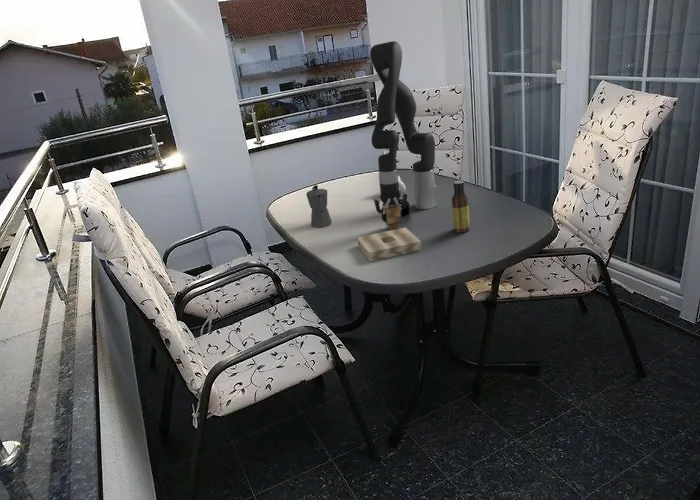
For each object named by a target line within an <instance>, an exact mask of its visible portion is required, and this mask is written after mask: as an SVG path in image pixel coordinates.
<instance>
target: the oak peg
mask: <svg viewBox="0 0 700 500" xmlns="http://www.w3.org/2000/svg"><path fill="white" fill-rule="evenodd" d="M386 219H387V222H384V223H385V224H386V225H387V229H388V231H391V230H396V229H399V226H400V225H399V224H401V223H402V218H401V214H400V207H397V206H396V205H390V206H388V208H387V209H386Z"/></svg>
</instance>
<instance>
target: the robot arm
mask: <svg viewBox="0 0 700 500" xmlns="http://www.w3.org/2000/svg"><path fill="white" fill-rule="evenodd" d="M369 51H370V53H369V56H370V61H371V64H372V66H373V68H374V70H375V72H376V74H377V76H378V77H379V79H380V82H381V83H382V85H383V87H382V89H381V91H380V93H379V95H378V99H377V101H376V102H377V103H376V120H375V125H374V129H373V132H372V135H371V144H372V147H373V148H374V150H375V149H376V150H388V153H384V154H381V155H379V156H378V158H377V163H378V180H379V190H380V191H379V192H380V196H379V197H378V198H373V203H374V206H375V211H376V212H377V213H378V214H381V220H382V221H383V222H384V223H385V222H387V219H386V209H387V208H388V206H390V205H396V206H397V207H400V214H401V219H402V218H403V210H404V209H406V208H407V200H408V195H407V193H406V192H405V193H403V194H400V193H399V183H398V176H399V173H398V167H397V152H398V147H399V144H400V143H399V142H400V136H399V134H398V132H397V131H396V130H395V129H394V130H393V129H388V130H384V128H385V127H386V126H389V125H392V124H394V123H395V120H396V118H397V121H398V123H399V125H400V128H401V132H402V134H403V138H404V141H405V144H406V147H407V150H408V151H409V152H410V153H411V154H413V155H420V160H418V161H416V162H413V164H412V177H413V193H414V194H413V195H414V206H415V208H416V209H417V210H429V209H433V208H435V207H438V194H437V192H438V191H437V185H436V184H435V163H436V162H435V161H436V142H435V141H436V140H435V137H434V136H433V134H432V133H430V132H429V133H428V132H419V131H417V129H416V126H415V123H414V122H415V117H416V114H417V103H416V100H415V98H414V94H413V92H412V91H411V89H410V88H409V87H408V86H407V84H405V83H404V82H402V81H401V80H400V74H401V69H402V63H403V51H402V46H401V45H400V43H398V41H394V40H392V41H387V42H381V43H377V44H375V45H373V46H372V47H371V48H370V50H369ZM400 199H401V201H400V202H401V203H399V200H400ZM381 202H382V204H381ZM380 204H381V206H380Z"/></svg>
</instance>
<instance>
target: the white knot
mask: <svg viewBox="0 0 700 500" xmlns="http://www.w3.org/2000/svg"><path fill="white" fill-rule="evenodd" d="M398 183H399V193H400V194H403V193H405V194H406V190H407V187H406V185H405V183H404V182H403V181H402V180H401V177H400V176H399V175H398Z"/></svg>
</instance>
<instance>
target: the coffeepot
mask: <svg viewBox="0 0 700 500" xmlns="http://www.w3.org/2000/svg"><path fill="white" fill-rule="evenodd" d="M305 194H306V199H307V202H308V204H309V207H310V208H311V213H310V214H311V215H310V216H311V218H310V219H311V221H310V222H311V223H310V225H311V227H313V228H315V229H317V228H318V229H320V228H326V227H329V226H330V225H331V224H332V223H333V222H332V218H331V216H330V212H329V209H328V208H327V206H328V189H325V188H318V185H317V184H316V185H314V186H312V189H311V190H308V191H307V192H306V193H305Z"/></svg>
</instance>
